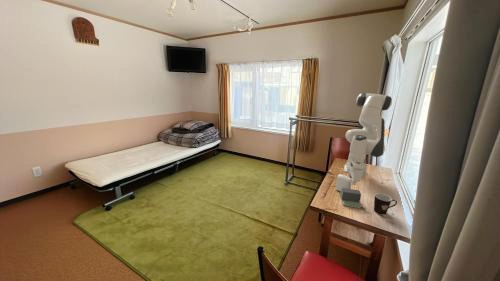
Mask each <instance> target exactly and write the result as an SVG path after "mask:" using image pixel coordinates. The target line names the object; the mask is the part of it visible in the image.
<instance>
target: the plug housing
mask: <svg viewBox="0 0 500 281" xmlns="http://www.w3.org/2000/svg"><path fill="white" fill-rule="evenodd" d="M340 193H341V197H340V199H342V200H346V201H353V202H359V204H360V203H361V197H362V193H361V191H360V190H358V189H346V188H342V190H341V192H340ZM342 200H341V201H342Z"/></svg>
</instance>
